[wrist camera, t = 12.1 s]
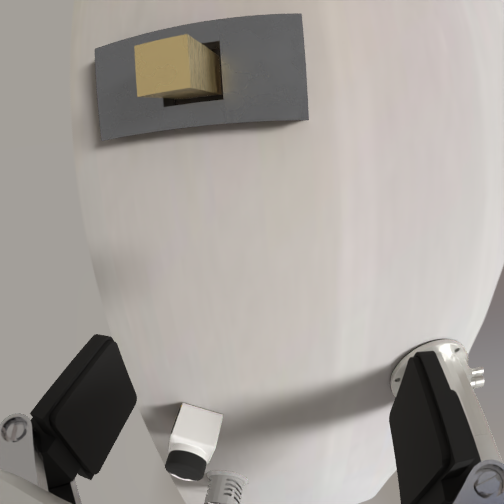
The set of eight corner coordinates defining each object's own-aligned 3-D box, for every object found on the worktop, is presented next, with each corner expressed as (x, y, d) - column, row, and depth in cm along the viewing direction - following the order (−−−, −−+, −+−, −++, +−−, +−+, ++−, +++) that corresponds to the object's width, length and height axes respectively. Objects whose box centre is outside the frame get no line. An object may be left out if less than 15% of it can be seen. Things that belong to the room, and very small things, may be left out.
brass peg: (219, 56, 26) (187, 34, 17) (221, 94, 28) (190, 87, 19) (179, 62, 27) (134, 45, 18) (182, 99, 28) (137, 97, 19)
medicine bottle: (182, 401, 47) (161, 460, 37) (223, 413, 47) (209, 474, 37) (178, 422, 50) (159, 475, 40) (216, 433, 51) (202, 488, 40)
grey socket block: (300, 22, 24) (301, 13, 21) (306, 119, 28) (308, 120, 25) (109, 52, 27) (94, 48, 24) (116, 137, 31) (101, 140, 28)
